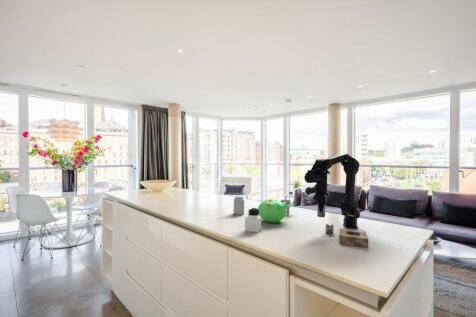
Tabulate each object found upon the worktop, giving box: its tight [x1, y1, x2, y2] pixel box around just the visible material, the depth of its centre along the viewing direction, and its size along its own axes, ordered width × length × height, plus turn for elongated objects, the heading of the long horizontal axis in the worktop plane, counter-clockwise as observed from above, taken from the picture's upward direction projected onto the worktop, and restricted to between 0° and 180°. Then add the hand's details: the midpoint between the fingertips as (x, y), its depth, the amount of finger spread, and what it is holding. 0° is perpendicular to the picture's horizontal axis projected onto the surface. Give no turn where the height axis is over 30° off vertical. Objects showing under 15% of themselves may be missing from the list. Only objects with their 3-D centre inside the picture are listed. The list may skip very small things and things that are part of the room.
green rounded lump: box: [257, 197, 291, 223], centre depth 151 cm, size 18×17×15 cm
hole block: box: [338, 228, 369, 248], centre depth 118 cm, size 12×12×4 cm
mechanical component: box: [280, 199, 296, 215], centre depth 172 cm, size 3×10×10 cm, turn 78°
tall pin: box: [316, 201, 326, 218], centre depth 130 cm, size 4×4×8 cm
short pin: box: [325, 223, 335, 235], centre depth 130 cm, size 4×4×4 cm
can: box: [233, 196, 245, 216], centre depth 170 cm, size 8×8×12 cm
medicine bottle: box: [244, 207, 262, 233], centre depth 133 cm, size 7×7×12 cm
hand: (321, 211), depth 130 cm, fingers closed on tall pin, 4 cm apart
